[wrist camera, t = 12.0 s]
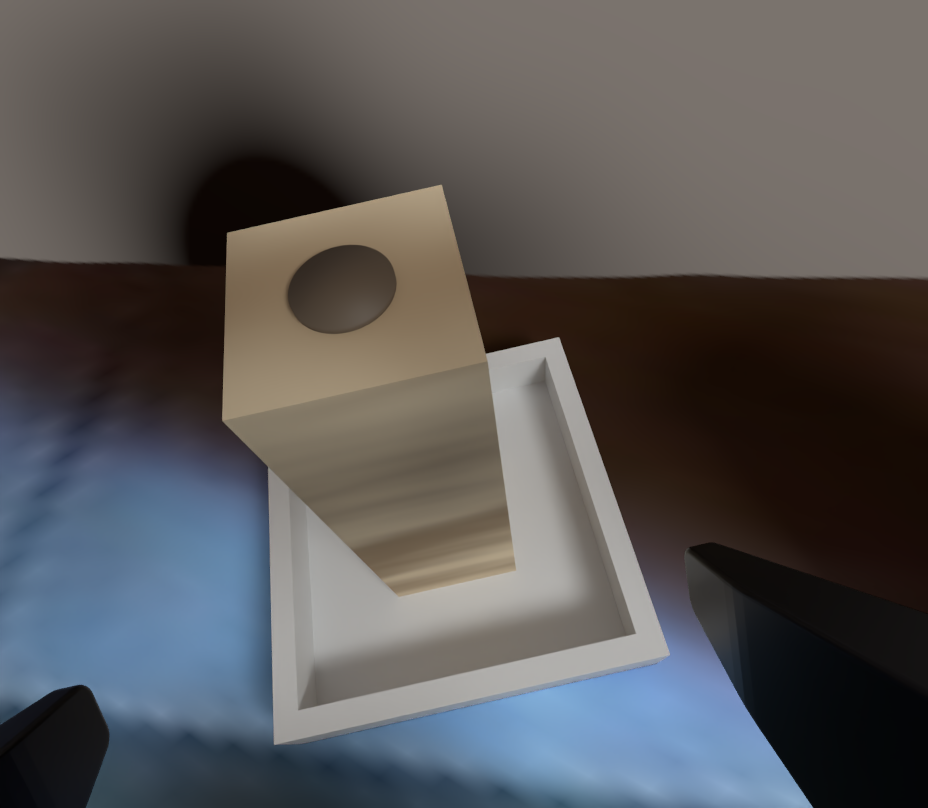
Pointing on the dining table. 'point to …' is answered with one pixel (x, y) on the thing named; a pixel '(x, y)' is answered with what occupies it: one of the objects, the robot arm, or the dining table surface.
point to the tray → (466, 585)
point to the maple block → (371, 385)
